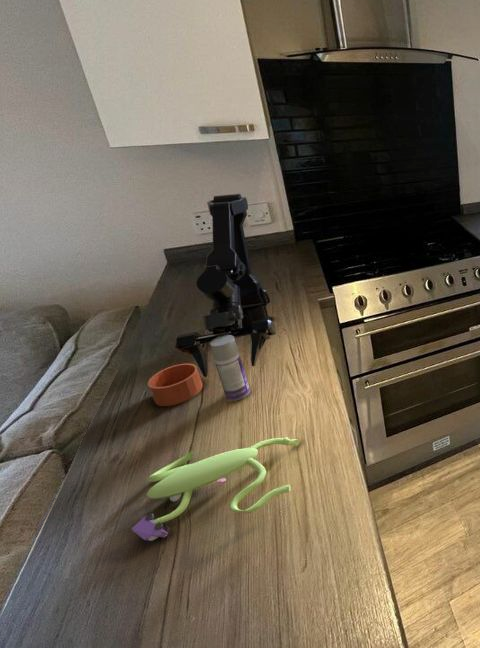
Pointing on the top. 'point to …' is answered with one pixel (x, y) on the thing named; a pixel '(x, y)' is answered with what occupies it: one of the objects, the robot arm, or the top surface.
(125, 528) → the top surface
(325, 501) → the top surface
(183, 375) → the orange-brown bowl
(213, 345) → the container
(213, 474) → the figurine
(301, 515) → the top surface
